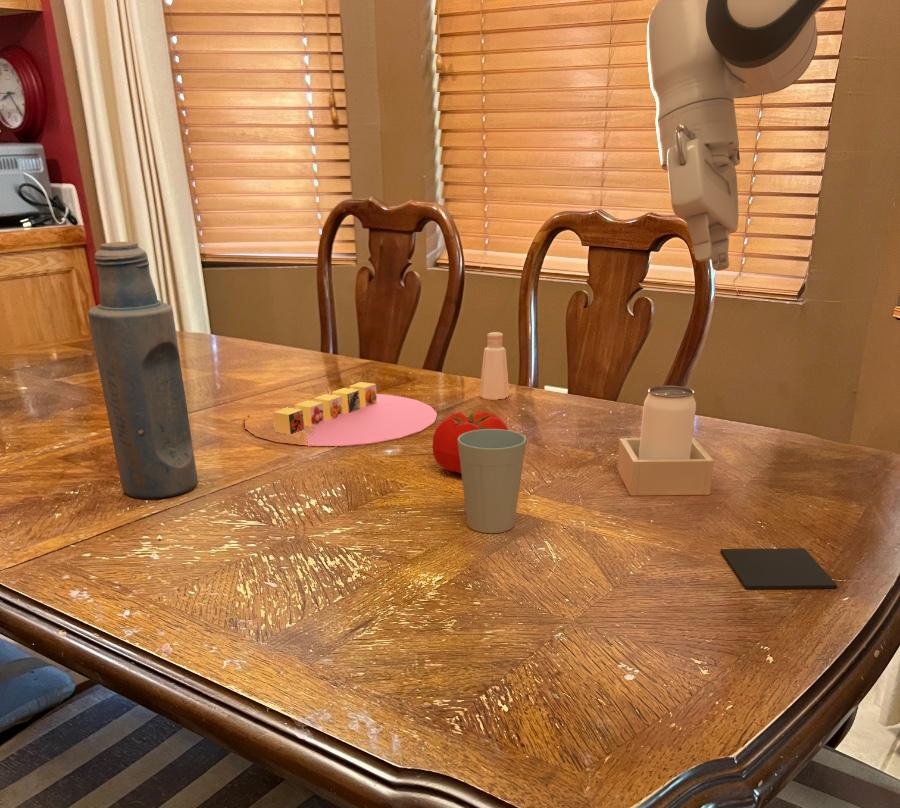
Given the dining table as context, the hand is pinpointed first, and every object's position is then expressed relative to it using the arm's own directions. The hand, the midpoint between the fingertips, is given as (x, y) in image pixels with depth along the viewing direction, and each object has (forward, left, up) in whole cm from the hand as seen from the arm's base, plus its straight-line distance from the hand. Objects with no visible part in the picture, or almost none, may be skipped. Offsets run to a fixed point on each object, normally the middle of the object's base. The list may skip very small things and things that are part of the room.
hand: (713, 265), depth 102 cm
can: (+4, +2, -27) cm, 27 cm away
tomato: (+29, -4, -27) cm, 39 cm away
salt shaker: (+24, -44, -27) cm, 57 cm away
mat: (-2, +29, -27) cm, 39 cm away
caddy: (+4, +2, -27) cm, 27 cm away
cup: (+27, +16, -27) cm, 41 cm away
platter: (+50, -31, -27) cm, 65 cm away
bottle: (+70, +2, -27) cm, 75 cm away
